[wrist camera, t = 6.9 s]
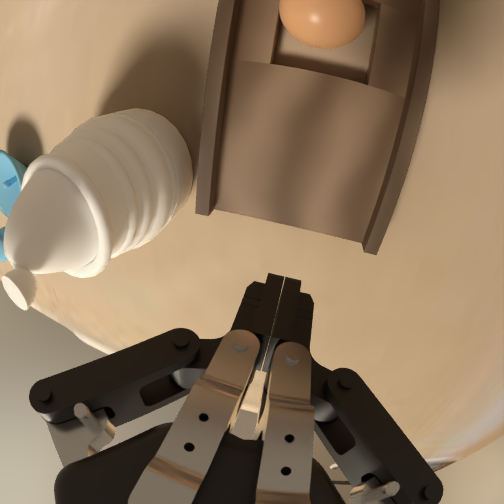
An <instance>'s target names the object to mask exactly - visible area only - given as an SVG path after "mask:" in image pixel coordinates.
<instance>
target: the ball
mask: <svg viewBox="0 0 504 504" xmlns="http://www.w3.org/2000/svg"><path fill="white" fill-rule="evenodd" d="M279 13H280V18H281V21H282V23H283V25H284V26H285V28H286V29H287V30H288V32H289V33H290V34H291V35H292V36H294V37H295V38H296V39H297V40H299V41H301V42H302V43H304V44H307V45H309V46H312V47H316V48H324V49H331V48H337V47H341V46H344V45H347V44H349V43H350V42H352V41H353V40H355V39H356V38H357V37H358V35H359V34H360V33H361V31H362V29H363V27H364V24H365V9H364V6H363V3H362V1H361V0H280V3H279Z"/></svg>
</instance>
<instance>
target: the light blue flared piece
mask: <svg viewBox="0 0 504 504" xmlns="http://www.w3.org/2000/svg"><path fill="white" fill-rule="evenodd" d="M26 170H27V167H26V166H25V165H23V164H22V163H20V162H19V161H17V160H16V159H14V158H13V157H12V156H10V155H9V154H7V153H6V152H5V151H3V150H0V210H1V211H2V212H3V213H4V214H5V215H6V216H7V217H9V214H10V212H11V210H12V207H13V205H14V203H15V202H16V200H17V198H18V196H19V194H20V193H21V185H22V181H23V177H24V174H25V172H26ZM5 227H6V226H5ZM5 227H2V228H1V229H0V261H2V262H5V261H7V260H8V259H7V257H6V256H5V254H4V243H3V242H4V231H5Z"/></svg>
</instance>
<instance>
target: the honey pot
mask: <svg viewBox="0 0 504 504" xmlns="http://www.w3.org/2000/svg"><path fill="white" fill-rule="evenodd" d="M192 181H193V169H192V159H191V156H190V153H189V150H188V147H187V144H186V142H185V140H184V139H183V137H182V136H181V134H180V133H179V131H178V130H177V128H176V127H175V126H174V125H173V124H171V123H170V122H169V121H168V120H167V119H166V118H165V117H163V116H161V115H159V114H157V113H155V112H153V111H151V110H146V109H139V108H133V109H128V110H122V111H118V112H114V113H110V114H106V115H102V116H98V117H95V118H91V119H89V120H88V121H86V122H84V123H83V124H81V125H80V126H78V127H77V128H75V130H74V131H73V132H72V133H71V135H69V136H68V137H67V138H65V139H64V140H63V141H62V142H61V143H59V144H58V145H57V146H55V147H54V149H53V150H52V151H51V153H50V154H46V155H41V156H39V157H38V158H37V159H35V160H34V161H33V162H32V163H30V165H29V167H28V168H27V170H26V172H25V174H24V177H23V181H22V185H21V193H20V194H19V196H18V198H17V200H16V202H15V203H14V205H13V207H12V210H11V212H10V214H9V217H8V220H7V223H6V227H5V231H4V242H3V243H4V254H5V256H6V257H7V259H8V260H9V262H10V263H11V265H12V266H13V267H14V270H11V271H9V272H8V273H6V274H5V275H4V276H3V277H2V283H3V286H4V288H5V290H6V292H7V293H8V295H9V297H10V298H11V299H12V300H13V302H14V303H15V304H16V305H17V306H18V307H20V308H21V309H23V310H27V309H28V308H29V306H30V305H31V304H32V302H33V300H34V297H35V294H36V290H37V283H36V278H35V276H34V275H33V273H34V274H45V273H54V272H60V271H64V272H66V273H68V274H70V275H72V276H76V277H80V278H86V277H94V276H95V275H97V274H98V273H100V272H102V271H103V270H104V268H105V267H106V265H107V264H108V262H109V261H110V258H115V257H116V256H118V255H120V254H121V253H124V252H127V251H128V250H130V249H135V248H139V247H140V246H142V245H144V244H145V243H147V242H149V241H151V240H152V239H154V238H155V236H156V235H157V234H158V233H159V232H160V231H161V230H162V229H163V228H164V227H165V226H166V225H167V224H168V223H169V222H170V221H171V220H172V219H173V218H174V217H175V216H176V215H177V214H178V212H179V211H180V210H181V209H182V208H183V207H184V206H185V203H186V201H187V199H188V197H189V195H190V193H191V187H192Z"/></svg>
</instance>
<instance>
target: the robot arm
mask: <svg viewBox="0 0 504 504" xmlns="http://www.w3.org/2000/svg"><path fill="white" fill-rule="evenodd" d="M283 280H284V276H280V275H275V274H271V273H268V276H267V280H266V283H265V284H264V283H260V282H256V281H254V282H253V283H252V284H250V285H249V286H248V287H247V289H246V291H245V294H244V297H243V299H242V302H241V304H240V307H239V310H238V312H237V315H236V317H235V320H234V323H233V325H232V328H231V330H230V331H229V332H228V333H227V334H226V335H225V336H223V337H221V338H217V339H199V337H198V336H197V334H196V333H194V332H193V331H191V330H189V329H185V328H176V329H173V330H170V331H168V332H165V333H163V334H160V335H158V336H155V337H153V338H151V339H148V340H146V341H143V342H141V343H138V344H136V345H133V346H131V347H128V348H126V349H123V350H120V351H118V352H115V353H113V354H110V355H108V356H105V357H103V358H100V359H97V360H94V361H92V362H89V363H86V364H84V365H81V366H78V367H76V368H73V369H70V370H67V371H65V372H62V373H59V374H56V375H53V376H51V377H48V378H45V379H42V380H39V381H38V382H36V383H35V384H34V385H33V386H32V388H31V390H30V394H29V400H30V403H31V405H32V407H33V408H34V409H35V410H36V411H37V412H38V413H39V414H40V415H41V416H42V418H43V419H44V420H45V421H46V422H47V425H48V427H49V431H50V433H51V436H52V439H53V442H54V444H55V447H56V450H57V452H58V455H59V457H60V459H61V462H62V464H63V466H64V468H63V469H62V470H61V471H60V472H59V474H58V476H57V478H56V480H55V486H54V492H55V493H54V494H55V502H56V504H346V503H345V502H344V500H343V498H342V497H341V495H340V494H339V492H338V491H337V489H336V487H335V486H334V484H333V483H332V481H331V479H330V478H329V476H328V475H327V473H326V471H325V470H324V468H323V467H322V466H321V465H320V464H319V463H318V462H317V461H316V460H315V459H314V458H313V457H312V455H313V439H314V431H315V432H316V434H317V435H318V437H319V438H320V440H321V441H322V443H323V444H324V446H325V447H326V449H327V450H328V452H329V453H330V455H331V456H332V458H333V459H334V461H335V462H336V464H337V465H338V466H339V468H340V469H341V471H342V472H343V474H344V475H345V477H346V478H347V479H348V481H349V482H350V484H351V485H352V486H353V490H352V491H351V493H350V496H349V503H350V504H438V503H439V502H440V500H441V498H442V495H443V485H442V483H441V481H440V479H439V478H438V477H437V476H436V474H435V473H434V471H433V470H432V469H431V468H430V466H429V465H428V464H427V462H426V461H425V460H424V458H423V457H422V456H421V455H420V453H419V452H418V451H417V449H416V448H415V447H414V445H413V444H412V443H411V442H410V440H409V439H408V438H407V436H406V435H405V434H404V433H403V431H402V430H401V429H400V427H399V426H398V425H397V424H396V422H395V421H394V420H393V418H392V417H391V416H390V415H389V413H388V412H387V411H386V409H385V408H384V407H383V406H382V404H381V403H380V402H379V400H378V399H377V398H376V397H375V395H374V394H373V393H372V391H371V390H370V389H369V388H368V386H367V385H366V384H365V382H364V381H363V380H362V379H361V377H360V376H359V375H358V374H357V373H356V372H354V371H353V370H351V369H348V368H338V369H335V370H334V371H331V370H329V369H327V368H325V367H323V366H321V365H320V364H318V363H317V362H316V361H315V360H314V359H313V357H312V356H311V353H310V339H311V329H312V319H313V309H314V302H313V300H312V298H311V295H310V294H306V293H302V292H300V287H301V280H297V279H292V278H288V277H285V281H284V285H283ZM282 285H283V289H282ZM281 289H282V293H281ZM280 294H281V296H280ZM279 298H280V300H279ZM278 302H279V304H278ZM277 306H278V308H277ZM276 311H277V312H276ZM275 315H276V316H275ZM274 319H275V320H274ZM273 323H274V324H273ZM271 332H272V333H271ZM270 336H271V337H270ZM269 339H270V341H269ZM268 343H269V345H268ZM267 346H268V349H267ZM266 350H267V353H266ZM265 353H266V357H265ZM264 357H265V361H264V365H263V369H262V371H264V372H267V374H266V378H265V382H264V385H263V388H262V393H261V399H260V406H259V412H258V418H257V424H256V429H255V432H254V436H253V440H243V439H241V438H238V437H237V436H235V435H233V434H231V433H232V430H233V427H234V424H235V421H236V419H237V416H238V414H239V411H240V409H241V406H242V404H243V401H244V399H245V396H246V394H247V391H248V389H249V386H250V384H251V382H252V381H253V378H254V374H255V371H256V370H259V371H260V370H261V367H262V363H263V360H264ZM188 394H189V395H188ZM186 395H188V397H187V398H186V400H185V402H184V404H183V406H182V408H181V410H180V411H179V413H178V415H177V417H176V419H175V421H174V422H171V423H165V424H161V425H158V426H155V427H153V428H151V429H149V430H147V431H145V432H143V433H141V434H138V435H136V436H134V437H132V438H130V439H128V440H126V441H123V442H121V443H119V444H117V445H115V446H112V447H110V448H108V449H105V450H103V451H101V452H100V450H101V449H102V448H103V447H104V446H105V445H107V444H109V443H110V442H111V441H112V440H113V438H114V436H115V427H117V426H119V425H122V424H124V423H127V422H129V421H132V420H134V419H136V418H138V417H141V416H143V415H145V414H148V413H150V412H152V411H154V410H156V409H159V408H161V407H163V406H165V405H167V404H169V403H171V402H174V401H175V400H178V399H180V398H182V397H184V396H186Z"/></svg>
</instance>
